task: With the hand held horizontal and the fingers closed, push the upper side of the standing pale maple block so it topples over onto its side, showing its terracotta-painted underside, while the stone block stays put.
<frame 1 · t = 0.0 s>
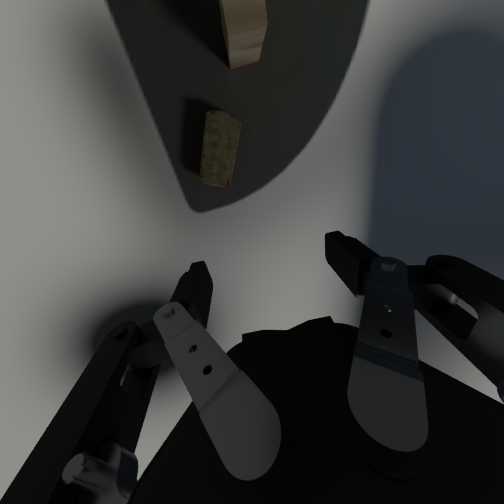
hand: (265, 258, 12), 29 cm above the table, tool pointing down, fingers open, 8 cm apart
maple block: (240, 45, 28), on the table
stone block: (221, 151, 35), on the table
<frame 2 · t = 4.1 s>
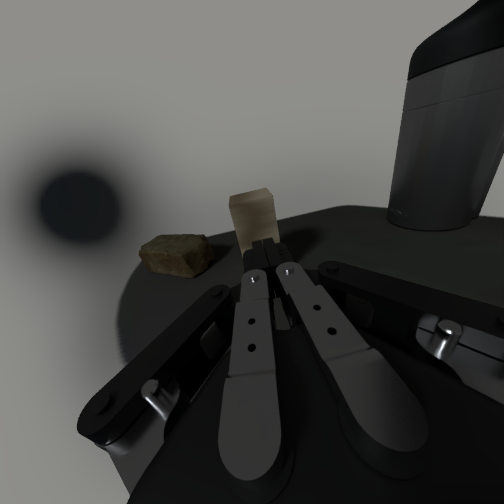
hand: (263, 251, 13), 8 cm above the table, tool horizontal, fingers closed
maple block: (265, 269, 25), on the table
stone block: (182, 267, 31), on the table
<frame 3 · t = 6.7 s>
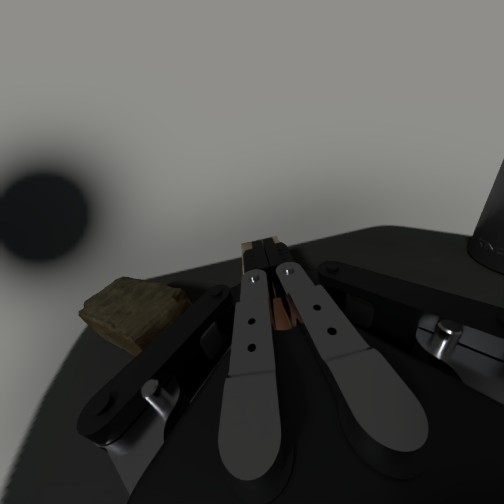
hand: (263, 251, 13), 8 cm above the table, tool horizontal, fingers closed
maple block: (277, 313, 15), point 2 cm above the table, tilted 90°
stone block: (151, 331, 20), on the table
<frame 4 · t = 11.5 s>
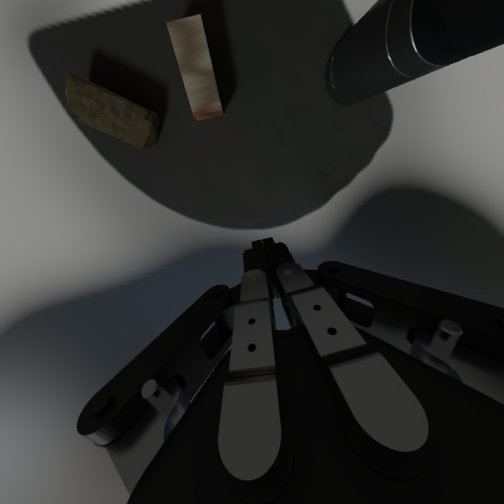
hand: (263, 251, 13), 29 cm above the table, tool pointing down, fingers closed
maple block: (209, 115, 31), point 2 cm above the table, tilted 90°
stone block: (125, 118, 32), on the table
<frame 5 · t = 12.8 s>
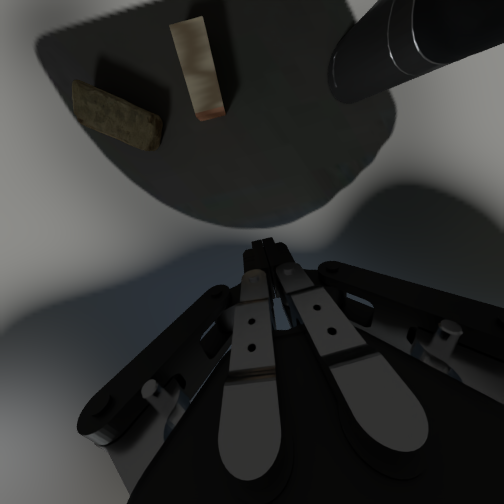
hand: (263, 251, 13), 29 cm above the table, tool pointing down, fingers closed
maple block: (212, 116, 31), point 2 cm above the table, tilted 90°
stone block: (129, 122, 32), on the table
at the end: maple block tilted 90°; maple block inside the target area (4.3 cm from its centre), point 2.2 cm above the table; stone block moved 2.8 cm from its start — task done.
